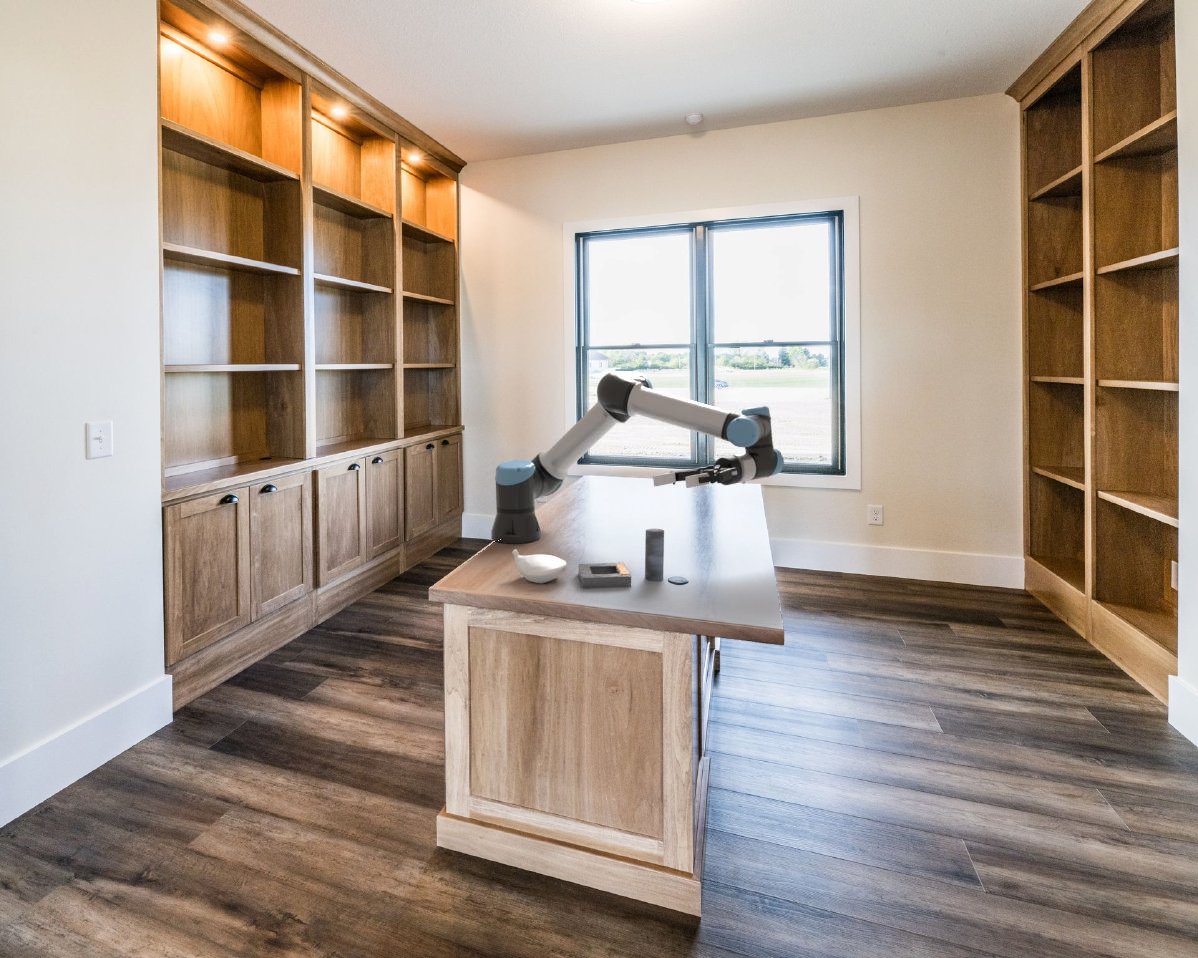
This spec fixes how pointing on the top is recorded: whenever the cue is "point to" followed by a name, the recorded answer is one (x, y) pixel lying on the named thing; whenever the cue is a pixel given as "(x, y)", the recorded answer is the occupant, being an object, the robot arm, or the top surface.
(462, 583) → the top surface
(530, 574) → the driver head
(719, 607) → the top surface
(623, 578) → the socket block
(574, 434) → the robot arm
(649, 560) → the peg
